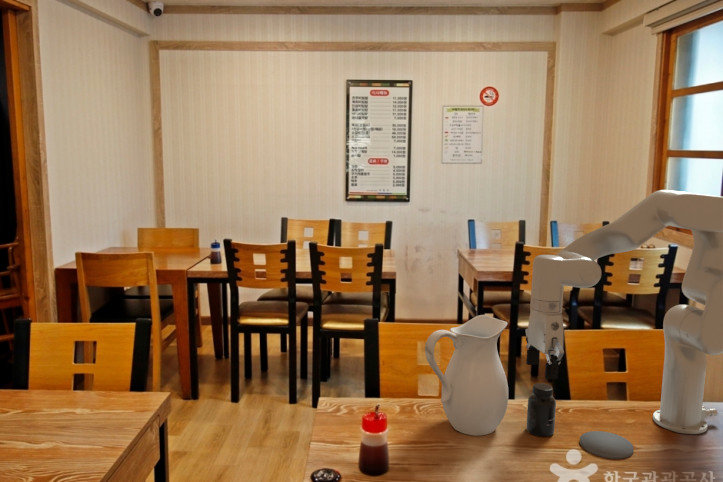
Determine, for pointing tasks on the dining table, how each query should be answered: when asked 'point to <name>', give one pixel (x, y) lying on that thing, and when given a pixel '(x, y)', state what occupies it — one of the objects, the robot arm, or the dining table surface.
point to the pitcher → (472, 376)
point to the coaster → (606, 445)
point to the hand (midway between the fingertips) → (541, 371)
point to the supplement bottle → (541, 411)
